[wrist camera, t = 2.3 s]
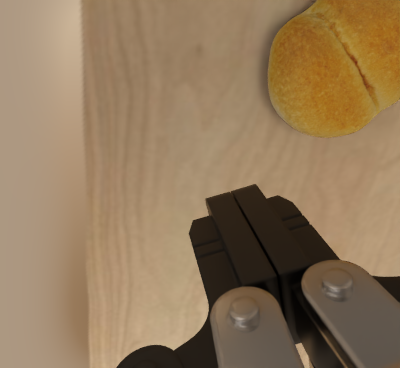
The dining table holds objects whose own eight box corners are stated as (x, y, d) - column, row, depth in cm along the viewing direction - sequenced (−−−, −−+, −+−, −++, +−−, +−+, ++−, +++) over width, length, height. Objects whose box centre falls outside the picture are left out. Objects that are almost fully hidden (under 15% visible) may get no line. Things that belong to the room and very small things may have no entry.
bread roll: (237, 57, 20) (260, 69, 17) (370, -52, 19) (424, -62, 16) (301, 155, 24) (331, 182, 21) (415, 71, 23) (467, 84, 20)
